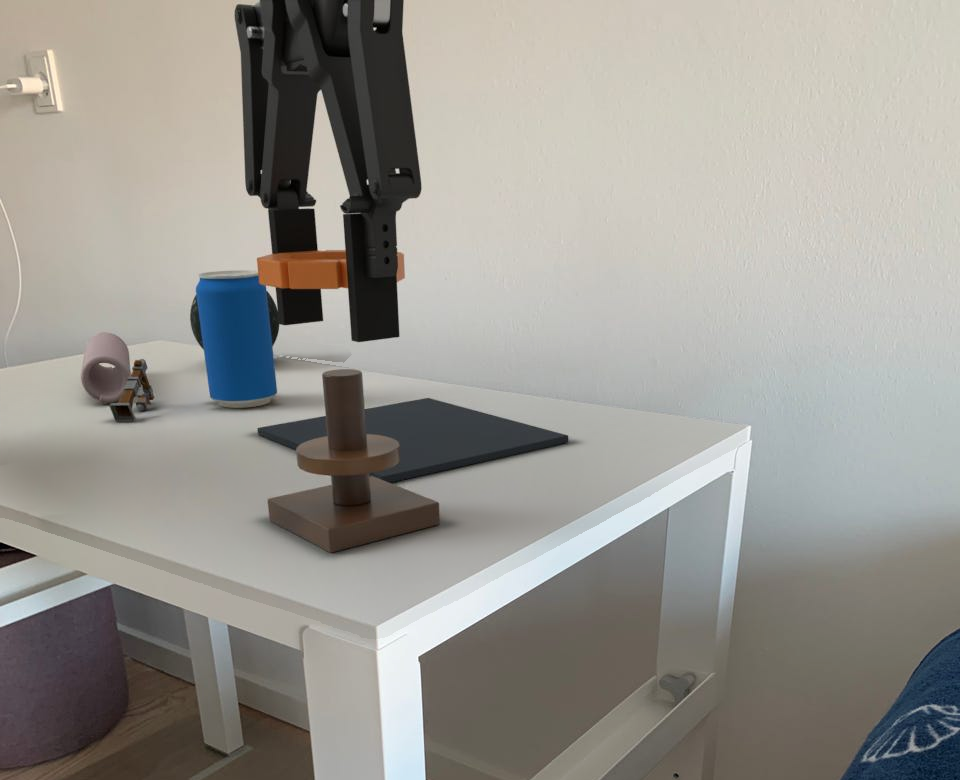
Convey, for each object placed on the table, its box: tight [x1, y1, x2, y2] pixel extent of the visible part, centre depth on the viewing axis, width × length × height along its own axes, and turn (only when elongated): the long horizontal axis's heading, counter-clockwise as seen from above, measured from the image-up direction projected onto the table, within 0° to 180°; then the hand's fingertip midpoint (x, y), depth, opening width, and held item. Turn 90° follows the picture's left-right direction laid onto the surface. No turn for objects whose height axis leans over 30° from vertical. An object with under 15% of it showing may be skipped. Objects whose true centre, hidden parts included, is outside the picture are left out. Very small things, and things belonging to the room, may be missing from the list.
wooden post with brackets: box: [108, 358, 155, 422], centre depth 95 cm, size 2×8×4 cm, turn 178°
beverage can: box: [195, 269, 278, 409], centre depth 96 cm, size 6×6×12 cm
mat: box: [256, 397, 569, 484], centre depth 84 cm, size 20×18×1 cm
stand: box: [267, 368, 441, 554], centre depth 62 cm, size 8×8×10 cm
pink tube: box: [80, 331, 132, 405], centre depth 106 cm, size 5×5×18 cm
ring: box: [256, 249, 406, 290], centre depth 58 cm, size 8×8×1 cm
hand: (336, 329), depth 59 cm, fingers closed on ring, 8 cm apart
